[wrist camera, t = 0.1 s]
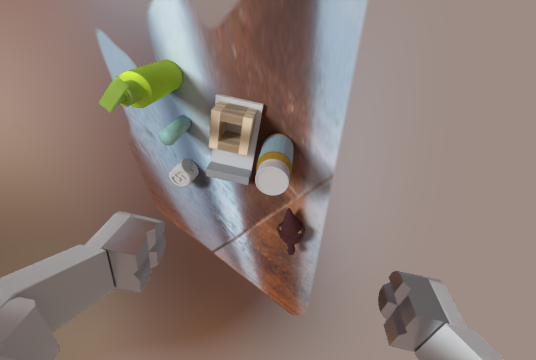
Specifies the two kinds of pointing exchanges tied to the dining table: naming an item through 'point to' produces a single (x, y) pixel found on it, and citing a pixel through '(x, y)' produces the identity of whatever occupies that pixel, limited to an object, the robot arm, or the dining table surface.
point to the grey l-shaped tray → (232, 163)
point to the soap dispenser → (142, 85)
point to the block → (226, 138)
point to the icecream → (290, 231)
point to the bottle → (274, 164)
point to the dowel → (175, 130)
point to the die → (184, 173)
